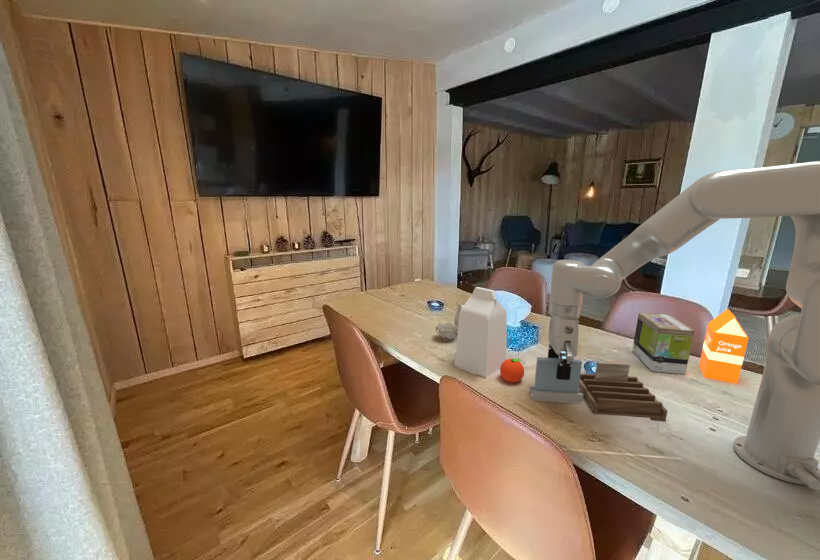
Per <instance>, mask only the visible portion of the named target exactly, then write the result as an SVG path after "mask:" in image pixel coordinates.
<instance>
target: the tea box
mask: <svg viewBox="0 0 820 560" xmlns="http://www.w3.org/2000/svg"><path fill="white" fill-rule="evenodd" d="M694 336H695V330H694V329H693V328H691V327H690V326H688V325H687V324H685V323H683V321H681V320H679V319H677V318H676V317H674V316H673V315H670V314H662V313H660V314H659V313H647V312H646V313H645V312H638V316H637V322H636V327H635V333H634V339H633V343H632V353H634V354H635V356H636V357H637V358H638V359H639V360H640V361H641V362H642V363H643V364H644V365H645V366H646V367H647V368H648V369H649V370H650V371H651V372H654V373H655V372H657V373H666V374H677V375H685V374H686V373H687V368H688V363H689V359H690V353H691V350H692V347H693V346H692V345H693V341H694Z"/></svg>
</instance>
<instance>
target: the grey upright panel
mask: <svg viewBox="0 0 820 560" xmlns="http://www.w3.org/2000/svg"><path fill="white" fill-rule="evenodd" d="M564 359H565V358H562V361H563V360H564ZM572 362H573V363H572V367H571V373H570V379H569V380H559V379H557V378H556V373H557V364H559V358H548V357H541V356H540V357H539V356H537V357H536V364H535V375H534V376H535V377H534V384H533V385H534V390H539V391H554V392H569V393H578V389H579V382H580V374H582V373H581V371H582V364H583V361H582V360H581V359H576V358H574V359H573V361H572Z"/></svg>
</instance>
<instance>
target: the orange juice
mask: <svg viewBox="0 0 820 560" xmlns="http://www.w3.org/2000/svg"><path fill="white" fill-rule="evenodd" d="M749 338H750V337H749V336H748V335H747V333H746V332H745V330H744V329H743V328H742V326H741V324H740V322H739V321H738V320H737V318H736V316H735V315H734V313H732V312H731V310H730V309H729V308H726V309H725V310H724V311H723V312H721V313H720V314H718V315H717V316H715V318H713V319H711V320H710V321H709V322H708V323H707V327H706V331H705V337H704V340H703V345H702V350H701V354H700V359H699V363H698V364H699V365H698V366H699V368H700V371H701V373H702V376H703V377H704V378H707V379H710V380H711V379H712V380H715V381H722V382H727V383H732V384H738V381H739V378H740V373H741V369H742V365H743V362H744V360H745V354H746V350H747V347H748V343H749Z"/></svg>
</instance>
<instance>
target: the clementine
mask: <svg viewBox="0 0 820 560" xmlns="http://www.w3.org/2000/svg"><path fill="white" fill-rule="evenodd" d="M521 362H523V360H522V359H520V358H506V360H505V361H504V362H503V363H502V364H501V367H500V369H499V373H500V375H501V377H502V378H503V380H505V381H506V382H508V383H511V384H513V383H514V384H515V383H519V382H520V381H521V380H523V377H525V368H524V365H526V363H525V362H523V364H524V365H523V364H522V363H521Z"/></svg>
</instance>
